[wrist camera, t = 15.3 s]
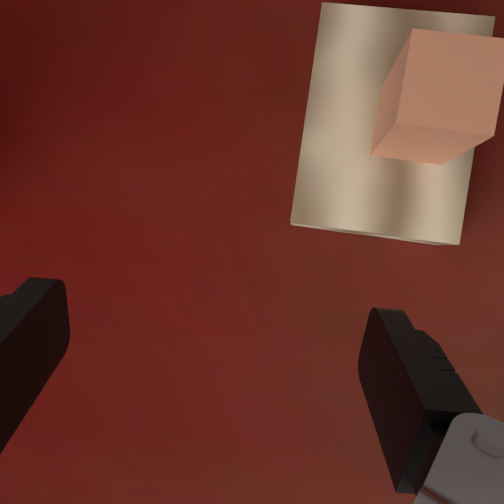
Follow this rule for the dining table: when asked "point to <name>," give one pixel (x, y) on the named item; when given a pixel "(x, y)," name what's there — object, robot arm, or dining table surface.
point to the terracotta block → (439, 97)
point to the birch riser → (362, 130)
